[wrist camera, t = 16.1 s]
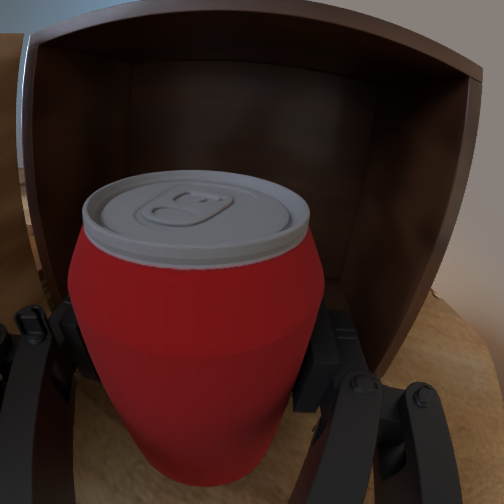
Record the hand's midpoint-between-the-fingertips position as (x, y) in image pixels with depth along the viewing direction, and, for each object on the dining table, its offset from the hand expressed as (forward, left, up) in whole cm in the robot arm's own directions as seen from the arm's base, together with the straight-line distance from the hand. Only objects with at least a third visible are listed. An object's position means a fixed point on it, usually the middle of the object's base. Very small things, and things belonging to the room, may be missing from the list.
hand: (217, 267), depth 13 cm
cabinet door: (+17, +12, -9) cm, 22 cm away
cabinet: (0, -8, -9) cm, 12 cm away
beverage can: (0, +5, -7) cm, 9 cm away
